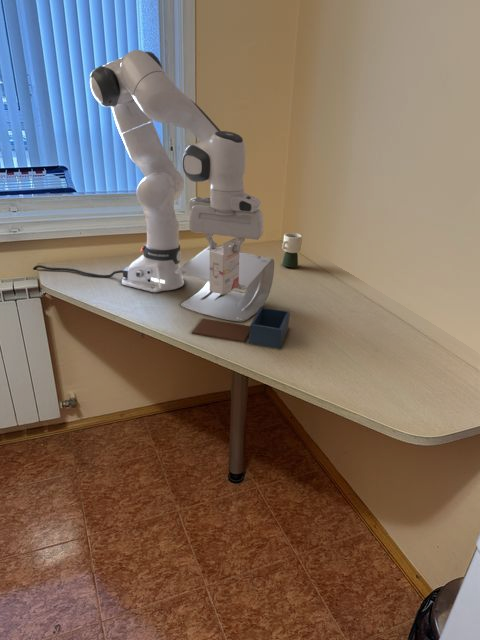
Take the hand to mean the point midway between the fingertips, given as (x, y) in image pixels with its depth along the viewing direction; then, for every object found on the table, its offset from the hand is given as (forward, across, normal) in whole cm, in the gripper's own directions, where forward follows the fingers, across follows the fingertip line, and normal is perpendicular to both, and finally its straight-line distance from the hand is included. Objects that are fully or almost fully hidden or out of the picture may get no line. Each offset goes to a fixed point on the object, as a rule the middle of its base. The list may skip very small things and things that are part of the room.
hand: (225, 251), depth 134 cm
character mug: (+25, +9, +64) cm, 70 cm away
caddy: (+25, +14, +2) cm, 28 cm away
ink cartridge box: (+11, 0, 0) cm, 11 cm away
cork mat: (+25, 0, 0) cm, 25 cm away
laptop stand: (+25, -5, +19) cm, 32 cm away
